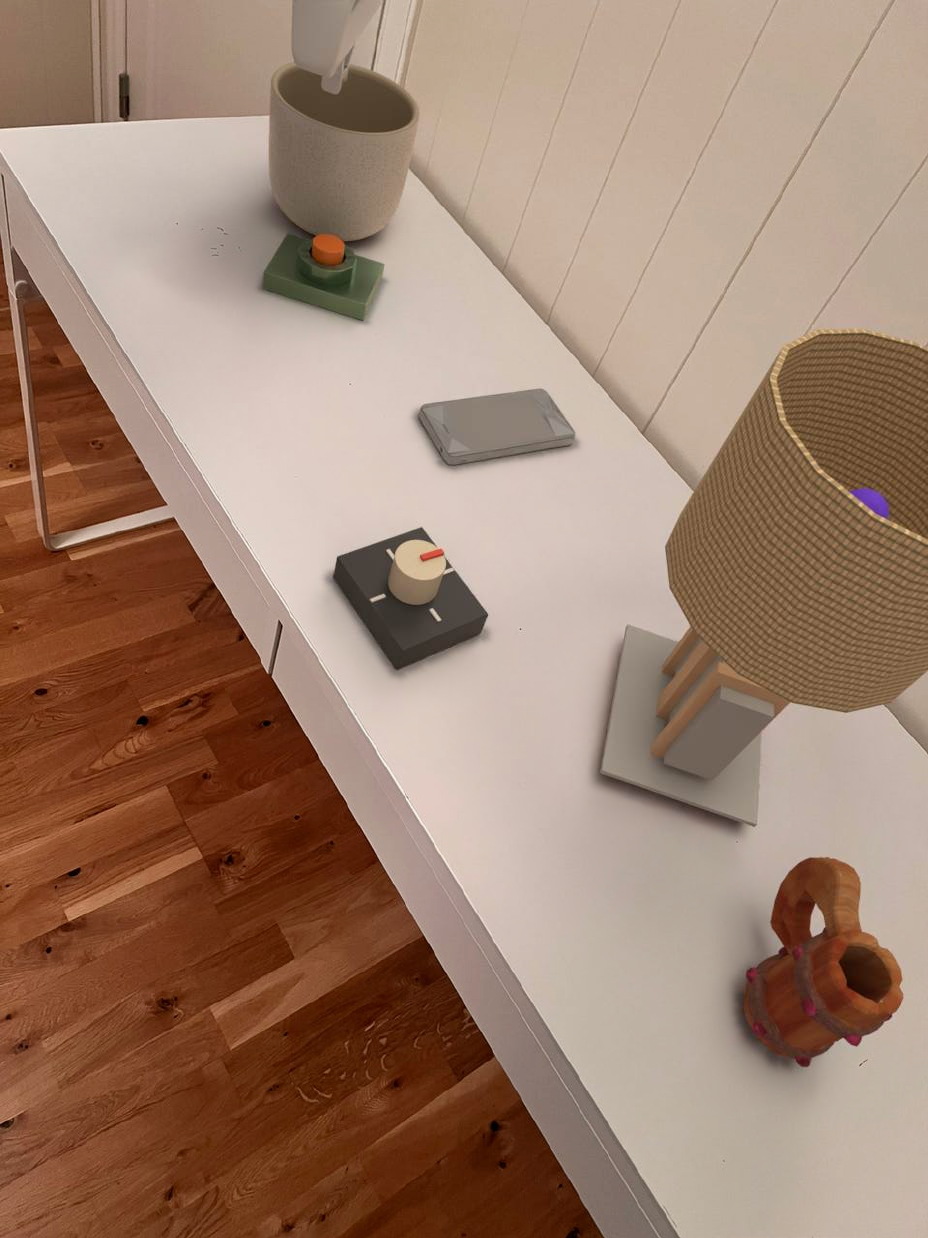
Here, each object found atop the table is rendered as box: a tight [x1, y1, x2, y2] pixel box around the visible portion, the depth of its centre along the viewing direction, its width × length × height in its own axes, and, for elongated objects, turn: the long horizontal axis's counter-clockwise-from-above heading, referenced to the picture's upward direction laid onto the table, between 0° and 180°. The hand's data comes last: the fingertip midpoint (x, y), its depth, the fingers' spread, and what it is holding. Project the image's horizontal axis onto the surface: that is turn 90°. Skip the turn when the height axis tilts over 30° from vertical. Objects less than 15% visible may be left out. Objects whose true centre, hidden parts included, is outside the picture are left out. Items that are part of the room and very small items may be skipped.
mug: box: [742, 856, 904, 1068], centre depth 63 cm, size 12×7×13 cm, turn 179°
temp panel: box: [332, 526, 489, 671], centre depth 80 cm, size 11×9×3 cm
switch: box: [312, 234, 346, 265], centre depth 103 cm, size 4×4×2 cm
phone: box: [418, 388, 576, 466], centre depth 97 cm, size 8×16×1 cm, turn 116°
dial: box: [388, 540, 446, 605], centre depth 77 cm, size 4×4×4 cm
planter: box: [268, 61, 420, 242], centre depth 109 cm, size 17×17×15 cm
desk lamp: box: [599, 328, 928, 828], centre depth 66 cm, size 20×20×35 cm
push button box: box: [262, 232, 385, 321], centre depth 105 cm, size 12×9×4 cm
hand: (333, 86), depth 86 cm, fingers closed
